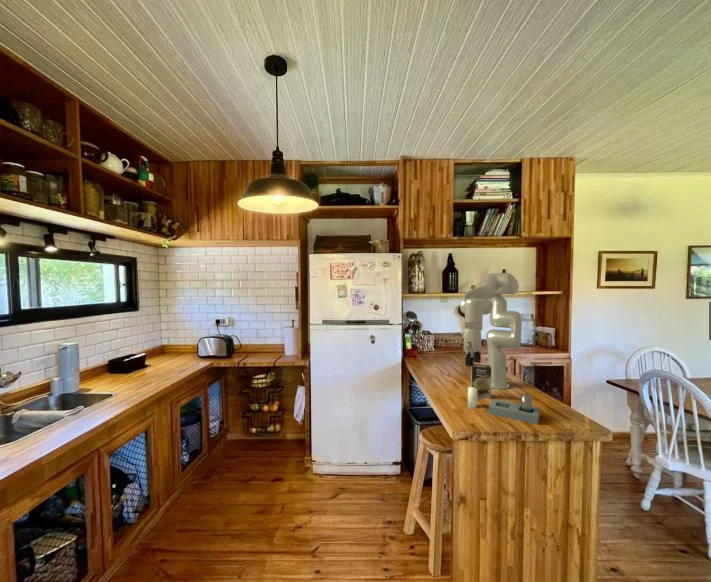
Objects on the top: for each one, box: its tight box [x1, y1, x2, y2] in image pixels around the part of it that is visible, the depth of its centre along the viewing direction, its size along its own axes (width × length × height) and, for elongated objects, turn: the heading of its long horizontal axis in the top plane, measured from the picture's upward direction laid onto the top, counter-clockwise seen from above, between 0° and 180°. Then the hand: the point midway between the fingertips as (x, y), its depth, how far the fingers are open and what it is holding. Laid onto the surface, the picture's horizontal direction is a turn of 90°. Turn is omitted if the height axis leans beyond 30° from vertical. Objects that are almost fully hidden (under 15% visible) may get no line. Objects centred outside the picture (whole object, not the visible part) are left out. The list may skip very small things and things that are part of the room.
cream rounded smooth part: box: [467, 386, 478, 410], centre depth 138 cm, size 4×4×9 cm
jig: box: [488, 398, 541, 425], centre depth 129 cm, size 11×18×4 cm, turn 55°
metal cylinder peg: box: [520, 393, 533, 413], centre depth 126 cm, size 4×4×9 cm
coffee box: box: [470, 363, 492, 400], centre depth 151 cm, size 9×6×16 cm
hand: (473, 364), depth 137 cm, fingers open, 9 cm apart
